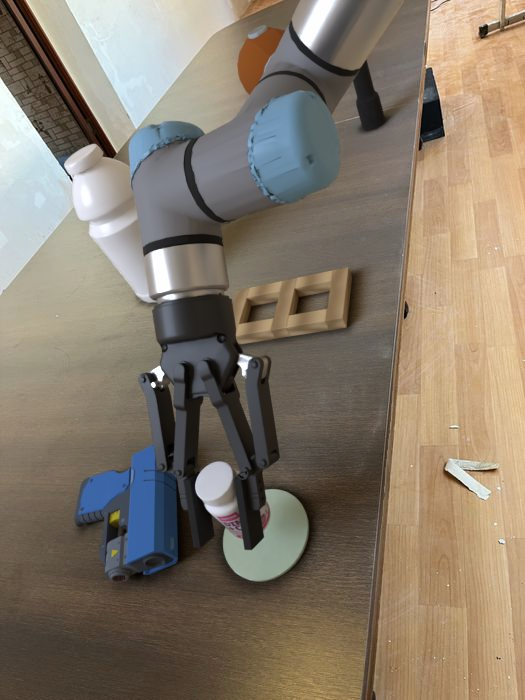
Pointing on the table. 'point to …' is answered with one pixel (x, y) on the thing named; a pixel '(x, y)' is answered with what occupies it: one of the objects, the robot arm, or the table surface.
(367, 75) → the flashlight
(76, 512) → the stun gun
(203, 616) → the table surface
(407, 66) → the table surface
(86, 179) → the bottle
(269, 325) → the frame
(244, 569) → the coaster
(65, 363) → the table surface
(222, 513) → the pill bottle
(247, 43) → the alarm clock
